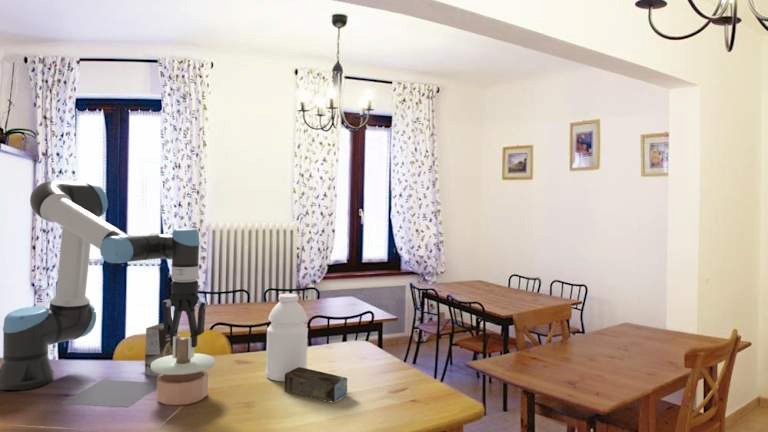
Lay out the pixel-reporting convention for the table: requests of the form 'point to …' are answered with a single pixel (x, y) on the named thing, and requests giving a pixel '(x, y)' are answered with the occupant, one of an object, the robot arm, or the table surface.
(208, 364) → the lid
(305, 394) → the beverage carton
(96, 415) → the table surface
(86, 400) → the mat
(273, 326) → the bottle
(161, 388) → the bowl
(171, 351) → the coffee box
